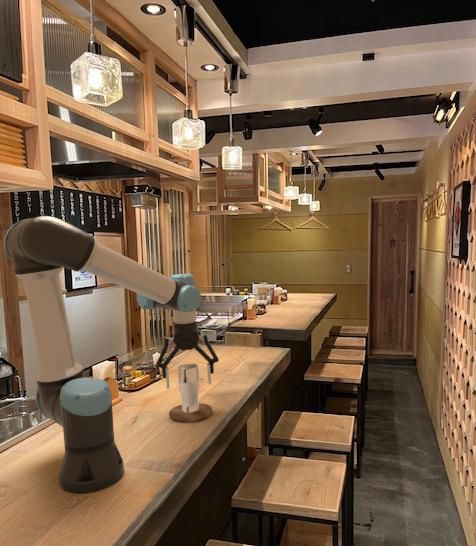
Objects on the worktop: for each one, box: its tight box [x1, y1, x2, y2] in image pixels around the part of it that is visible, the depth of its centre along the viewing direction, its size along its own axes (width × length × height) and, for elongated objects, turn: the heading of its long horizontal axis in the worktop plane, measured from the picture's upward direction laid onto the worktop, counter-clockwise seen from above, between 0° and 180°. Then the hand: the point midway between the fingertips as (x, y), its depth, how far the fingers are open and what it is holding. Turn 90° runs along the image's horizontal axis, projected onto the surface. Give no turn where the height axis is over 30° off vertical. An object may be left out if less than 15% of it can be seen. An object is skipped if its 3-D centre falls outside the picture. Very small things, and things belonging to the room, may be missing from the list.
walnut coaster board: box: [168, 402, 213, 424], centre depth 147 cm, size 14×14×1 cm
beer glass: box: [177, 362, 200, 414], centre depth 147 cm, size 7×7×15 cm
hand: (189, 385), depth 147 cm, fingers open, 13 cm apart
